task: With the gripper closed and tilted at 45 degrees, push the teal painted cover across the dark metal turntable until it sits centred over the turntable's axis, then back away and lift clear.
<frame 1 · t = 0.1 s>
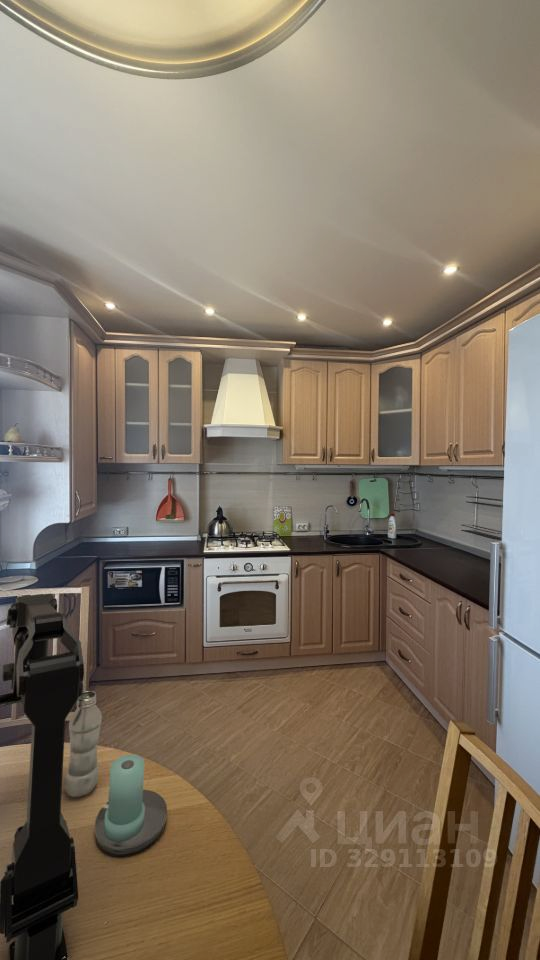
hand: (26, 739, 78), 15 cm above the table, tool pointing down, fingers open, 9 cm apart
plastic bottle: (81, 791, 85), on the table
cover: (124, 825, 74), point 2 cm above the table, touching turntable
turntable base: (131, 827, 76), on the table
turntable: (131, 816, 76), point 2 cm above the table, hinge at 0.0°, touching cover
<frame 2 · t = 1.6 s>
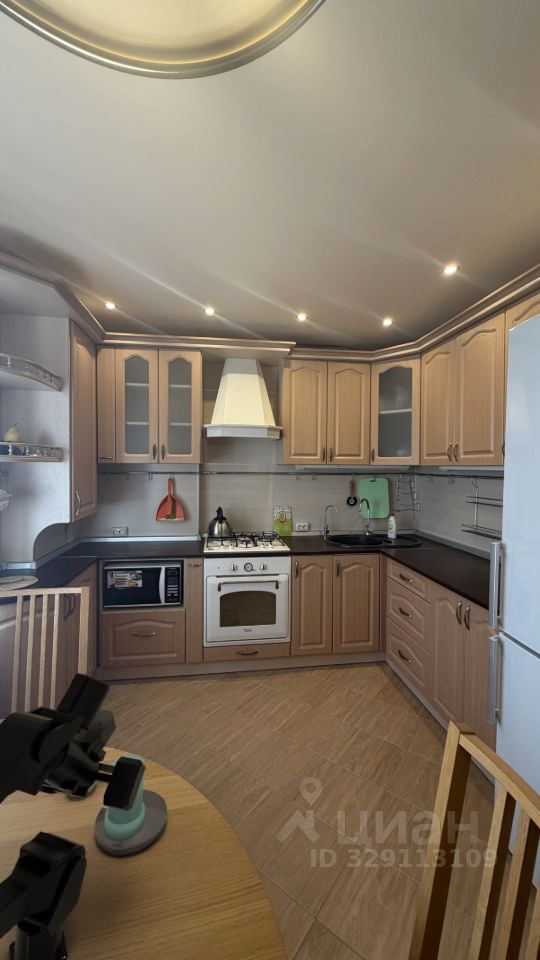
hand: (103, 786, 68), 13 cm above the table, tool tilted 45°, fingers open, 8 cm apart
nothing on the table moved.
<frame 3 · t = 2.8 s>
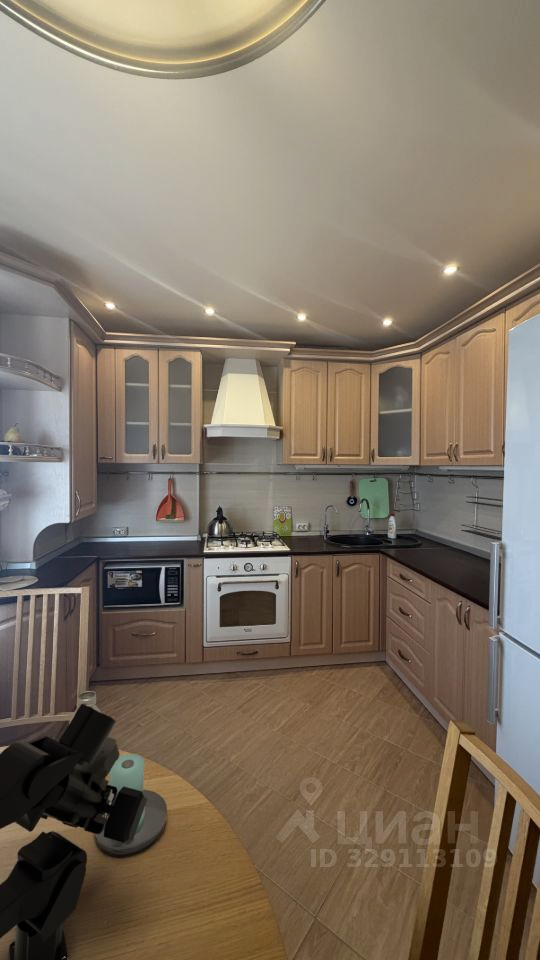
hand: (107, 813, 69), 9 cm above the table, tool tilted 45°, fingers closed
nothing on the table moved.
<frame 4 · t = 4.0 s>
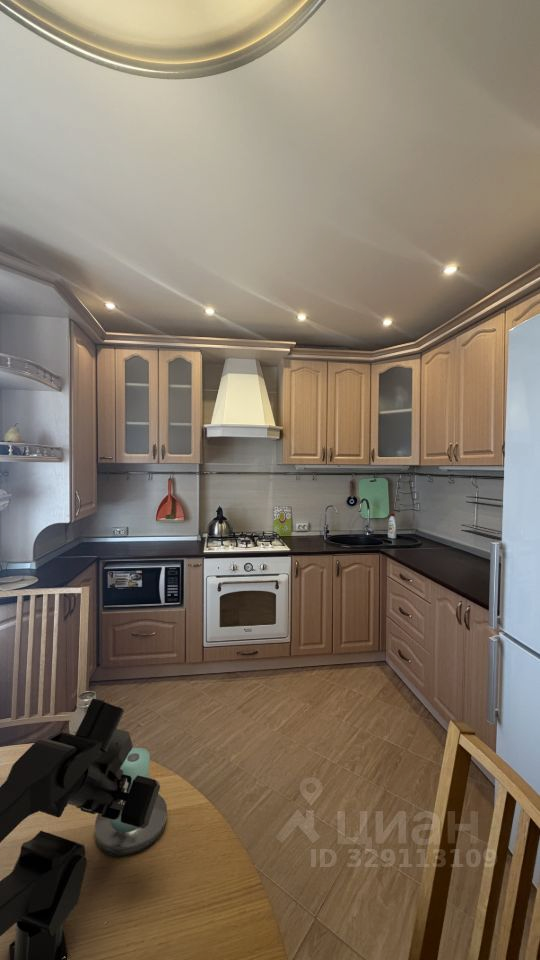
hand: (122, 800, 73), 8 cm above the table, tool tilted 45°, fingers closed, pressing on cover
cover: (130, 816, 76), point 2 cm above the table, touching gripper, turntable
everything else where it was.
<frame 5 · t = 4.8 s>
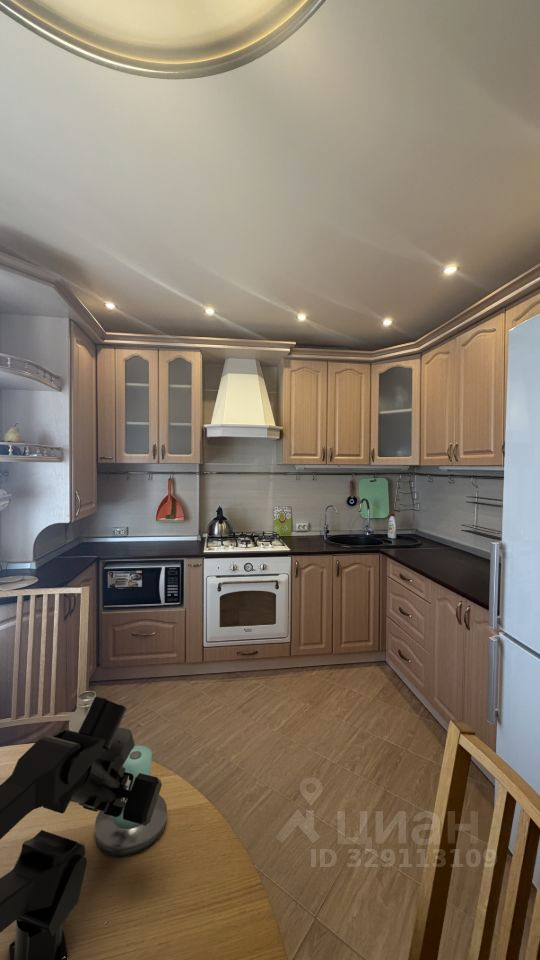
hand: (123, 798, 73), 8 cm above the table, tool tilted 45°, fingers closed
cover: (132, 813, 77), point 2 cm above the table, touching turntable
everything else where it was.
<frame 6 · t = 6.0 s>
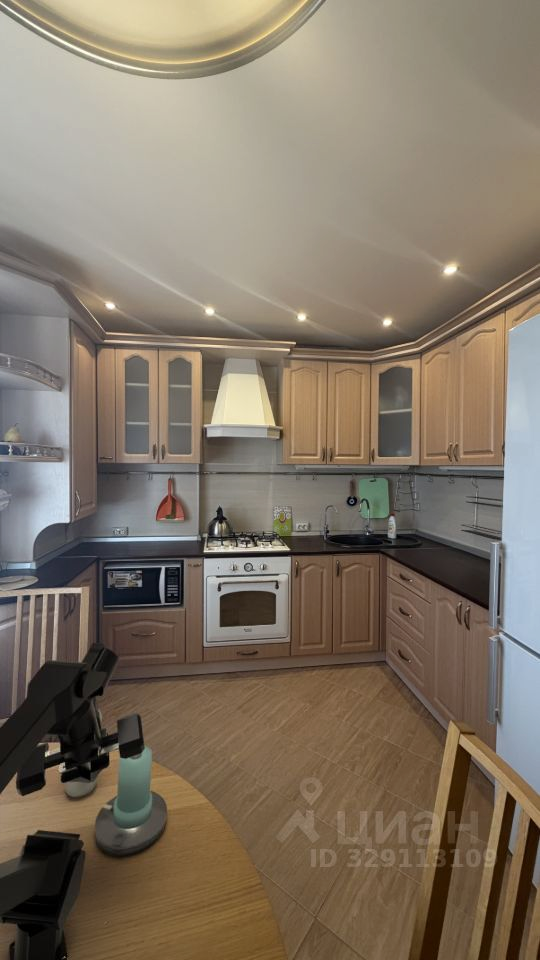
hand: (91, 779, 70), 14 cm above the table, tool tilted 30°, fingers closed
nothing on the table moved.
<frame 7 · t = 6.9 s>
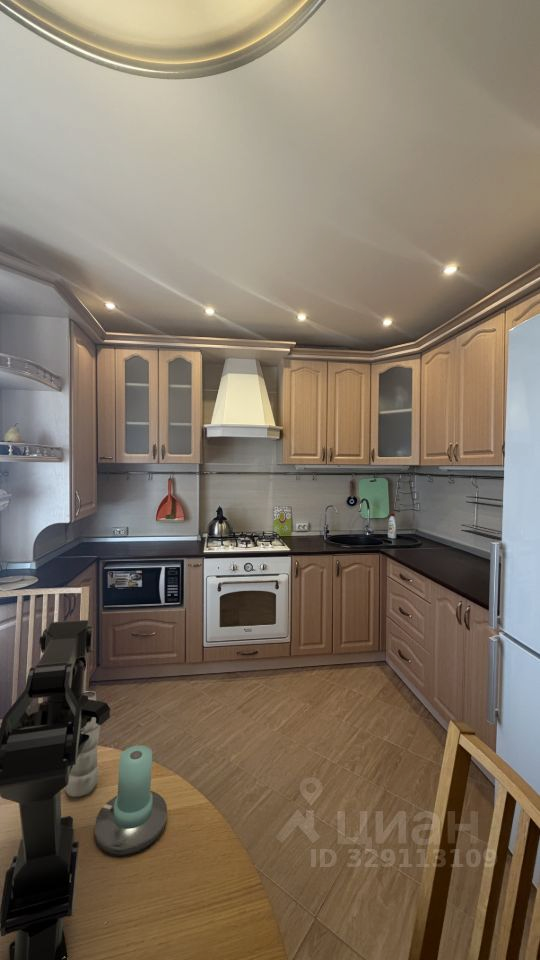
hand: (59, 785, 69), 13 cm above the table, tool pointing down, fingers closed
nothing on the table moved.
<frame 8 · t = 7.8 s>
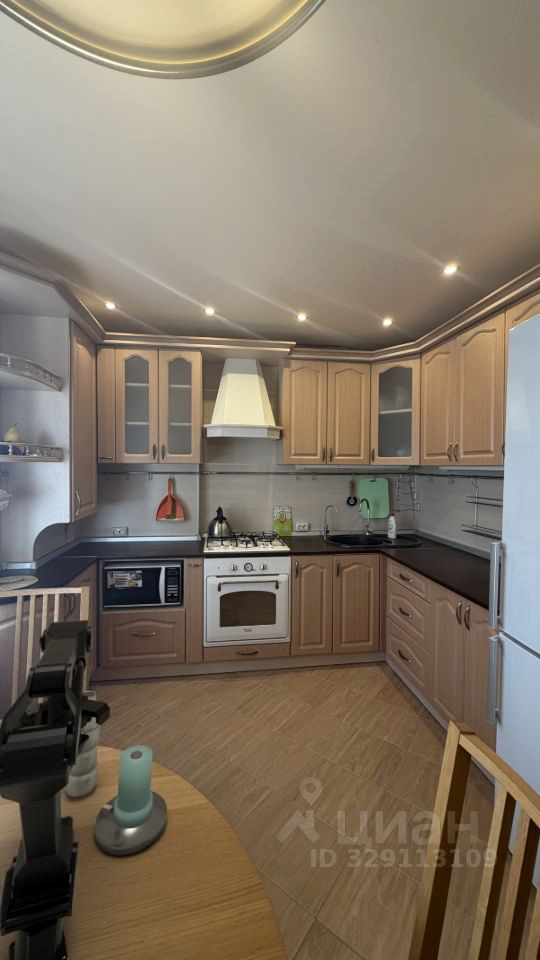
hand: (59, 785, 69), 13 cm above the table, tool pointing down, fingers closed
nothing on the table moved.
at the end: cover 0.4 cm from the turntable (horizontally); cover tilted 0°; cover moved 2.9 cm from its start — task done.
